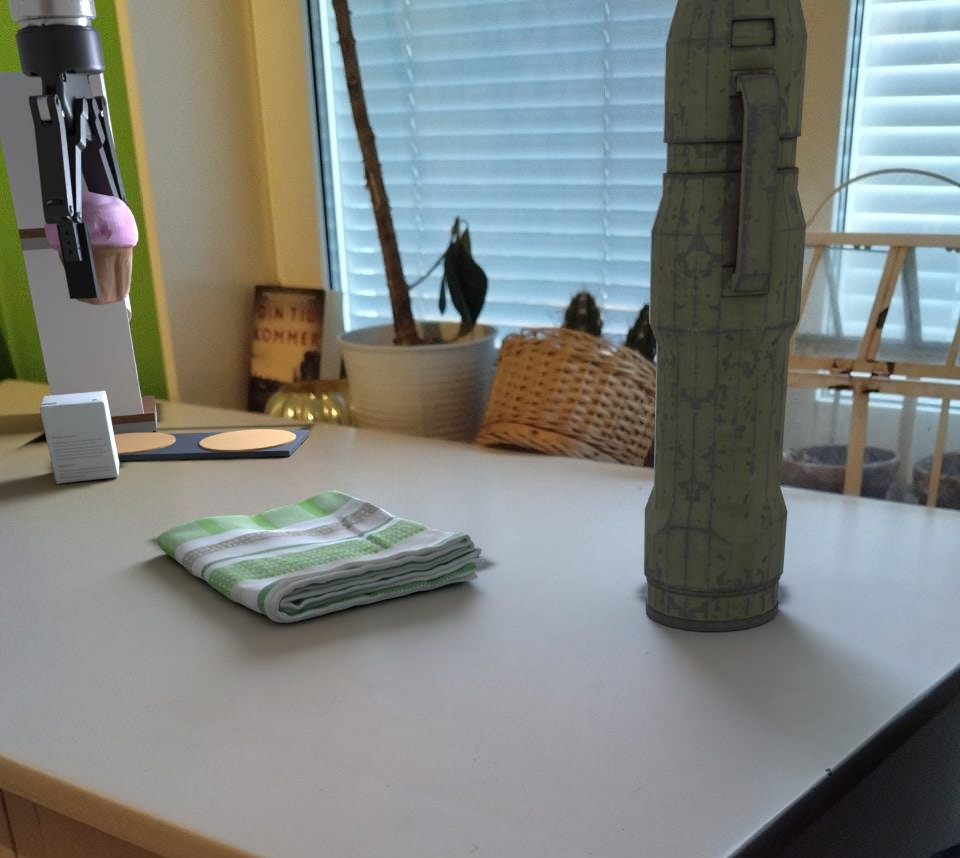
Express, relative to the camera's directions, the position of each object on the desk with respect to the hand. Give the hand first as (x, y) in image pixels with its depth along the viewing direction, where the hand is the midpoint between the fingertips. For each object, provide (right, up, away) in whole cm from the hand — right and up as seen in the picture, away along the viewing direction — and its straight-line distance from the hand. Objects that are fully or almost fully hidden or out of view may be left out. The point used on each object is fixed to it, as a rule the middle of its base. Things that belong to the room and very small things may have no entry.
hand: (102, 291), depth 131 cm
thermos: (+53, -40, -44) cm, 80 cm away
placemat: (+7, -13, +8) cm, 17 cm away
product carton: (-1, -19, -1) cm, 19 cm away
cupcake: (0, -1, +1) cm, 1 cm away
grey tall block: (-5, -7, +20) cm, 22 cm away
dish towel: (+25, -35, -32) cm, 53 cm away
